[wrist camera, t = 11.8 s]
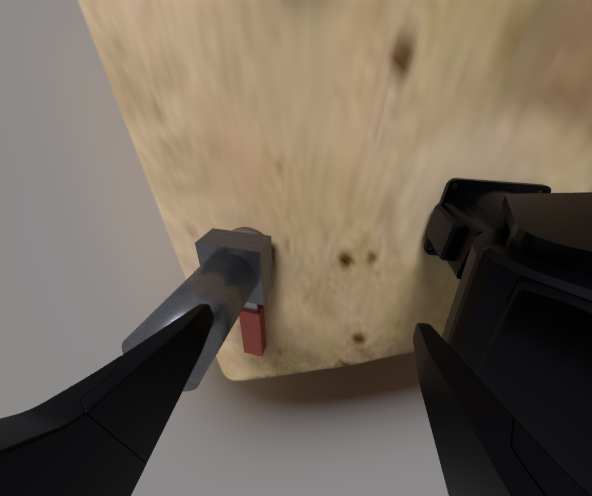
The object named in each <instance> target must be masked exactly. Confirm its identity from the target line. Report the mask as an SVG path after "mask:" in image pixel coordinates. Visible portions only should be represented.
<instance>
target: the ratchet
mask: <svg viewBox="0 0 592 496" xmlns="http://www.w3.org/2000/svg"><path fill="white" fill-rule="evenodd" d="M232 231H237V232H244V233H252V234H260V235H263V234H262V233H261V232H259V231H257V230H255V229H252V228H248V227H240V228H236V229H234V230H232ZM271 246H272V245H271ZM273 259H274V251H273V247H272V262H273ZM247 263H248V262H247ZM239 316H240V323H241V331H242V338H243V345H244V352H245V353H250V354H254V355H258V356H263V353H264V350H265V348H266V337H265V320H264V305H259V304H254V303H248V302H247V303H246V304H245V306H244V308H243V309H242V311H241V313H240V315H239Z"/></svg>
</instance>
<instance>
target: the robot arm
mask: <svg viewBox="0 0 592 496" xmlns="http://www.w3.org/2000/svg"><path fill="white" fill-rule="evenodd" d="M454 183H458V185H457V187H455V188H452V185H453V184H454ZM540 190H543V191H542V193H538V192H539V191H540ZM426 235H427V240H426V243H425V245H424V250H425V252H426V253H427V254H429V255H436V256H439V257H440V258H441V260H445V261H447V262H448V264H449V265H450V267H451V268H452V270H453V272H454V273H455V275H456V276H457V278H458V279H461V280H460V283H459V286H458V289H457V292H456V295H455V298H454V301H453V304H452V307H451V310H450V313H449V316H448V319H447V323H446V326H445V329H444V332H443V335H442V337H441V336H440V335H439V334H438V333H437V332H436V331H435V330H434V328H433V327H432V326H431V325H429V324H426V323H417V325H416V328H415V332H414V336H413V343H414V350H415V357H416V364H417V371H418V377H419V382H420V387H421V391H422V395H423V399H424V403H425V407H426V410H427V414H428V418H429V422H430V426H431V429H432V433H433V437H434V440H435V445H436V448H437V452H438V456H439V460H440V464H441V467H442V471H443V475H444V479H445V483H446V486H447V490H448V494H449V496H592V192H588V193H551V188H550V187H548V186H545V185H542V184H528V183H515V182H502V181H489V180H475V179H462V178H453V179H451V180H449V181H448V183H447V184H446V187H445V190H444V193H443V196H442V198H441V201H440V204H438V205H436V206H435V208H434V211H433V214H432V216H431V219H430V222H429V225H428V228H427V231H426ZM430 247H433V249H432V250H428V249H429V248H430ZM213 322H214V314H213V312H212V309H211V307H210V305H209V304H199V305H197V306H196V307H194V308H193V309H191V310H190V311H188V312H187V313H185V314H184V315H182V316H181V317H179V318H177V319H176V320H174V321H173V322H171V323H170V324H168V325H167V326H165V327H164V328H162V329H161V330H159V331H158V332H156V333H155V334H153V335H152V336H150V337H149V338H147V339H146V340H144V341H142V342H141V343H139V344H138V345H136V346H135V347H133V348H132V349H130V350H129V351H127V352H126V353H124V354H123V355H122V356H120V357H118V358H117V359H115V360H114V361H112V362H111V363H109V364H107V365H106V366H104V367H103V368H101V369H99V370H98V371H97V372H95V373H93V374H91V375H90V376H88V377H86V378H85V379H83V380H81V381H80V382H78V383H76V384H75V385H73V386H71V387H69V388H68V389H66V390H64V391H63V392H61V393H59V394H57V395H56V396H54V397H52V398H51V399H49V400H47V401H46V402H44V403H42V404H40V405H38V406H36V407H34V408H33V409H30V410H27V411H25V412H22V413H19V414H16V415H12V416H9V417H5V418H1V419H0V496H131V494H132V492H133V490H134V488H135V486H136V484H137V482H138V480H139V478H140V476H141V474H142V472H143V470H144V468H145V466H146V464H147V463H146V462H148V460H149V458H150V456H151V454H152V452H153V450H154V448H155V446H156V444H157V441H158V440H159V437H160V436H161V434H162V432H163V430H164V427H165V425H166V423H167V421H168V419H169V417H170V415H171V413H172V411H173V409H174V407H175V405H176V403H177V401H178V399H179V397H180V395H181V393H182V391H183V389H184V387H185V385H186V383H187V381H188V379H189V377H190V375H191V373H192V371H193V369H194V367H195V365H196V363H197V361H198V359H199V357H200V355H201V353H202V350H203V348H204V345H205V343H206V340H207V338H208V335H209V332H210V330H211V327H212V324H213Z"/></svg>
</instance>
